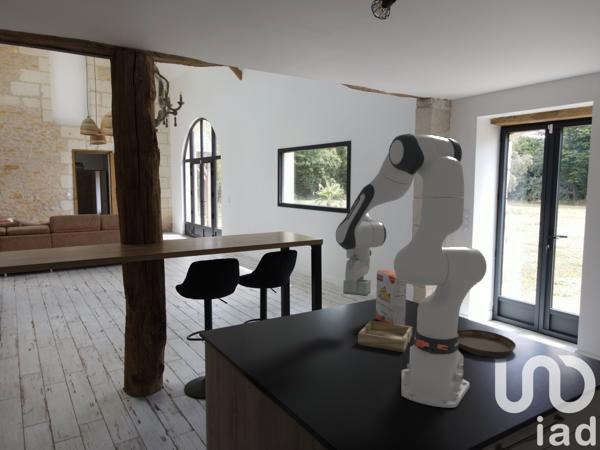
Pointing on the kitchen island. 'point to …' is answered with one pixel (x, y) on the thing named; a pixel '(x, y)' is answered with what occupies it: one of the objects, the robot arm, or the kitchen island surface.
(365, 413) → the kitchen island surface
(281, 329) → the kitchen island surface
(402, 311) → the cracker box
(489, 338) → the plant saucer
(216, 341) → the kitchen island surface
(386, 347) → the big crate
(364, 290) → the box
